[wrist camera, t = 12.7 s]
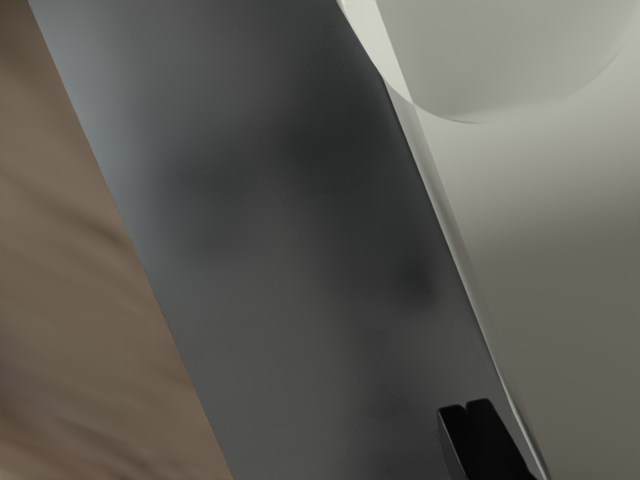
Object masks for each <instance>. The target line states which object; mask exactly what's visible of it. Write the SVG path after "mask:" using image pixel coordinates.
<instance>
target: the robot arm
mask: <svg viewBox="0 0 640 480" xmlns="http://www.w3.org/2000/svg"><path fill="white" fill-rule="evenodd" d="M436 415H437V423H438V431H439V439H440V444H441V448H442V452H443V455H444V459H445V462H446V465H447V469H448V472H449V475H450V479H451V480H538V479H537V478H536V477H535V476H534V475H533V474H532V473H531V472H530V471H529V469H528V467H527V465H526V462H525V460H524V458H523V457H522V455H521V453H520V451H519V449H518V447H517V446H516V444H515V442H514V440H513V439H512V437H511V435H510V433H509V432H508V430H507V428H506V426H505V425H504V423H503V421H502V419H501V418H500V416H499V414H498V412H497V411H496V409H495V407H494V405H493V403H492V402H491V401H490V400H489V399H488V398H481V399H477V400H472V401H468V402H467V403H466V404H465V408H464V407H463V406H461V405H459V404H454V405H450V406H445V407H441V408H438V409H437V412H436Z"/></svg>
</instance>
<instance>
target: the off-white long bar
mask: <svg viewBox="0 0 640 480" xmlns="http://www.w3.org/2000/svg"><path fill="white" fill-rule="evenodd" d="M336 2H337V4H338V5H339V7H340V9H341V10H342V12H343V14H344V15H345V17H346V19H347V20H348V22H349V24H350V25H351V27H352V29H353V30H354V32H355V34H356V35H357V37H358V39H359V40H360V42H361V44H362V45H363V47H364V49H365V50H366V52H367V54H368V55H369V57H370V59H371V60H372V62H373V63H374V65H375V66H376V68H377V69H378V71H379V73H380V74H381V75H382V77H383V80H384V82H385V85H386V88H387V90H388V93H389V95H390V98H391V100H392V103H393V106H394V108H395V111H396V113H397V116H398V118H399V121H400V123H401V126H402V129H403V131H404V134H405V136H406V139H407V141H408V144H409V147H410V149H411V152H412V154H413V157H414V159H415V162H416V164H417V167H418V170H419V172H420V175H421V177H422V180H423V182H424V185H425V188H426V190H427V193H428V195H429V198H430V200H431V203H432V205H433V208H434V211H435V213H436V216H437V218H438V221H439V223H440V226H441V229H442V231H443V234H444V236H445V239H446V241H447V244H448V246H449V249H450V252H451V254H452V257H453V259H454V262H455V264H456V267H457V269H458V272H459V275H460V277H461V280H462V282H463V285H464V287H465V290H466V293H467V295H468V298H469V300H470V303H471V305H472V308H473V310H474V313H475V316H476V318H477V321H478V323H479V326H480V328H481V331H482V334H483V336H484V339H485V341H486V344H487V346H488V349H489V351H490V354H491V357H492V359H493V362H494V364H495V367H496V369H497V372H498V375H499V377H500V380H501V382H502V385H503V387H504V390H505V392H506V395H507V398H508V400H509V403H510V405H511V408H512V410H513V413H514V415H515V417H516V419H517V421H518V424H519V426H520V428H521V430H522V432H523V434H524V437H525V439H526V441H527V443H528V445H529V447H530V450H531V452H532V454H533V456H534V458H535V460H536V463H537V465H538V467H539V469H540V471H541V473H542V476H543V478H544V480H640V0H336Z"/></svg>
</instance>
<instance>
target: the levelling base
mask: <svg viewBox="0 0 640 480" xmlns="http://www.w3.org/2000/svg"><path fill="white" fill-rule="evenodd" d="M28 2H29V5H30V7H31V9H32V12H33V14H34V16H35V19H36V21H37V23H38V26H39V28H40V30H41V33H42V35H43V37H44V40H45V42H46V44H47V47H48V49H49V51H50V54H51V56H52V58H53V61H54V63H55V65H56V67H57V70H58V72H59V74H60V77H61V79H62V81H63V84H64V86H65V88H66V91H67V93H68V95H69V98H70V100H71V102H72V105H73V107H74V109H75V112H76V114H77V116H78V119H79V121H80V123H81V126H82V128H83V130H84V133H85V135H86V137H87V139H88V142H89V144H90V146H91V149H92V151H93V153H94V156H95V158H96V160H97V163H98V165H99V167H100V170H101V172H102V174H103V177H104V179H105V181H106V184H107V186H108V188H109V191H110V193H111V195H112V198H113V200H114V202H115V205H116V207H117V209H118V211H119V214H120V216H121V218H122V221H123V223H124V225H125V228H126V230H127V232H128V235H129V237H130V239H131V242H132V244H133V246H134V249H135V251H136V253H137V256H138V258H139V260H140V263H141V265H142V267H143V270H144V272H145V274H146V277H147V279H148V281H149V283H150V286H151V288H152V290H153V293H154V295H155V297H156V300H157V302H158V304H159V307H160V309H161V311H162V314H163V316H164V318H165V321H166V323H167V325H168V328H169V330H170V332H171V335H172V337H173V339H174V342H175V344H176V346H177V349H178V351H179V353H180V355H181V358H182V360H183V362H184V365H185V367H186V369H187V372H188V374H189V376H190V379H191V381H192V383H193V386H194V388H195V390H196V393H197V395H198V397H199V400H200V402H201V404H202V407H203V409H204V411H205V414H206V416H207V418H208V421H209V423H210V425H211V427H212V430H213V432H214V434H215V437H216V439H217V441H218V444H219V446H220V448H221V451H222V453H223V455H224V458H225V460H226V462H227V465H228V467H229V469H230V472H231V474H232V476H233V479H234V480H451V479H450V475H449V472H448V469H447V465H446V462H445V459H444V455H443V452H442V448H441V444H440V439H439V431H438V423H437V415H436V412H437V409H438V408H441V407H445V406H450V405H454V404H459V405H461V406H463V407H464V408H465V404H466V403H467V402H468V401H472V400H477V399H481V398H488V399H489V400H490V401H491V402H492V403H493V405H494V407H495V409H496V411H497V412H498V414H499V416H500V418H501V419H502V421H503V423H504V425H505V426H506V428H507V430H508V432H509V433H510V435H511V437H512V439H513V440H514V442H515V444H516V446H517V447H518V449H519V451H520V453H521V455H522V457H523V458H524V460H525V462H526V465H527V467H528V469H529V471H530V472H531V473H532V474H533V475H534V476H535V477H536V478H537V479H538V480H544V478H543V476H542V473H541V471H540V469H539V467H538V465H537V463H536V460H535V458H534V456H533V454H532V452H531V450H530V447H529V445H528V443H527V441H526V439H525V437H524V434H523V432H522V430H521V428H520V426H519V424H518V421H517V419H516V417H515V415H514V413H513V410H512V408H511V405H510V403H509V400H508V398H507V395H506V392H505V390H504V387H503V385H502V382H501V380H500V377H499V375H498V372H497V369H496V367H495V364H494V362H493V359H492V357H491V354H490V351H489V349H488V346H487V344H486V341H485V339H484V336H483V334H482V331H481V328H480V326H479V323H478V321H477V318H476V316H475V313H474V310H473V308H472V305H471V303H470V300H469V298H468V295H467V293H466V290H465V287H464V285H463V282H462V280H461V277H460V275H459V272H458V269H457V267H456V264H455V262H454V259H453V257H452V254H451V252H450V249H449V246H448V244H447V241H446V239H445V236H444V234H443V231H442V229H441V226H440V223H439V221H438V218H437V216H436V213H435V211H434V208H433V205H432V203H431V200H430V198H429V195H428V193H427V190H426V188H425V185H424V182H423V180H422V177H421V175H420V172H419V170H418V167H417V164H416V162H415V159H414V157H413V154H412V152H411V149H410V147H409V144H408V141H407V139H406V136H405V134H404V131H403V129H402V126H401V123H400V121H399V118H398V116H397V113H396V111H395V108H394V106H393V103H392V100H391V98H390V95H389V93H388V90H387V88H386V85H385V82H384V80H383V77H382V75H381V74H380V73H379V71H378V69H377V68H376V66H375V65H374V63H373V62H372V60H371V59H370V57H369V55H368V54H367V52H366V50H365V49H364V47H363V45H362V44H361V42H360V40H359V39H358V37H357V35H356V34H355V32H354V30H353V29H352V27H351V25H350V24H349V22H348V20H347V19H346V17H345V15H344V14H343V12H342V10H341V9H340V7H339V5H338V4H337V2H336V0H28Z"/></svg>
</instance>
